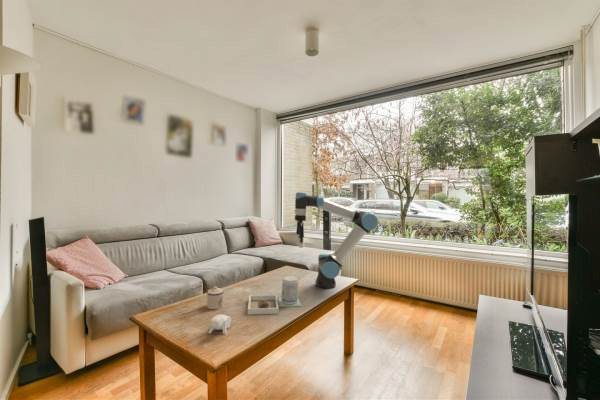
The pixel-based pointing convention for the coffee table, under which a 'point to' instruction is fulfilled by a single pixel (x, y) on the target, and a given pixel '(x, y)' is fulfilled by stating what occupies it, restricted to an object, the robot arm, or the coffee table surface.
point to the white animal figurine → (220, 323)
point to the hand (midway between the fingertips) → (299, 245)
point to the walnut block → (263, 304)
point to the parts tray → (263, 310)
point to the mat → (289, 304)
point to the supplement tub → (289, 289)
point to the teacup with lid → (215, 298)
